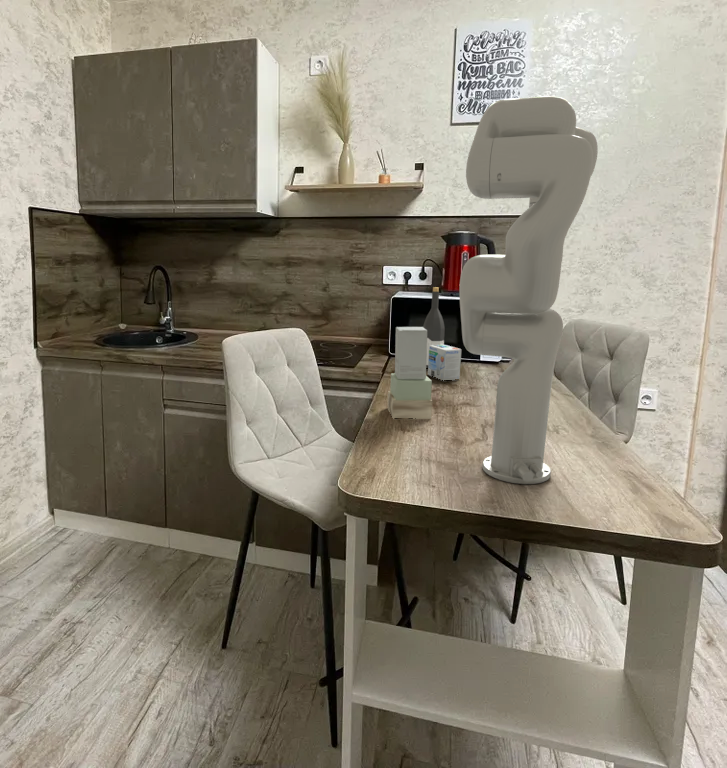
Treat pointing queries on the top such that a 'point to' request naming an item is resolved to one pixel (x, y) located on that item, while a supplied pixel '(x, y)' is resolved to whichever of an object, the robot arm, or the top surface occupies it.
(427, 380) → the tower top
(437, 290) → the wine bottle
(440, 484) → the top surface
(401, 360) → the supplement box
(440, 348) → the light bulb box
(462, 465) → the top surface
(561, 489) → the top surface
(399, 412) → the tower base
